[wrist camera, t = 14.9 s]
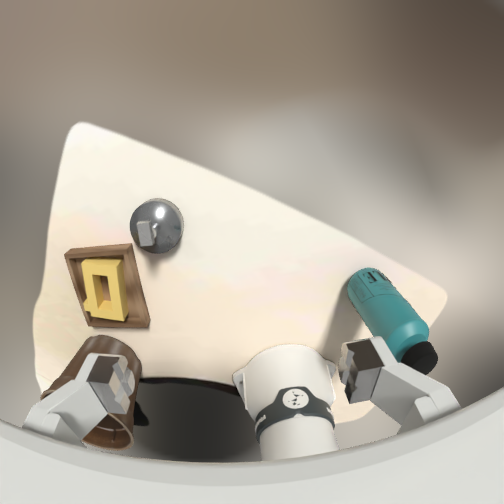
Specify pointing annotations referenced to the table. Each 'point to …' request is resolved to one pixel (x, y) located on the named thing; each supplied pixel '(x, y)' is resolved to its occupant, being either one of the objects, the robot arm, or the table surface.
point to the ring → (92, 280)
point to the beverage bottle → (392, 319)
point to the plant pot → (112, 425)
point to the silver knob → (156, 225)
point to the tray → (134, 291)
